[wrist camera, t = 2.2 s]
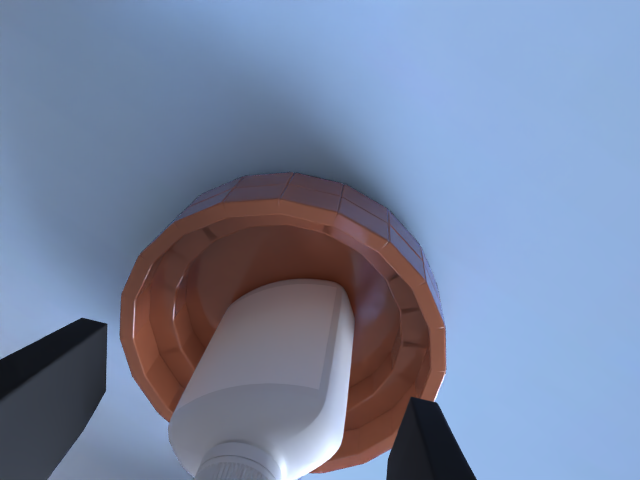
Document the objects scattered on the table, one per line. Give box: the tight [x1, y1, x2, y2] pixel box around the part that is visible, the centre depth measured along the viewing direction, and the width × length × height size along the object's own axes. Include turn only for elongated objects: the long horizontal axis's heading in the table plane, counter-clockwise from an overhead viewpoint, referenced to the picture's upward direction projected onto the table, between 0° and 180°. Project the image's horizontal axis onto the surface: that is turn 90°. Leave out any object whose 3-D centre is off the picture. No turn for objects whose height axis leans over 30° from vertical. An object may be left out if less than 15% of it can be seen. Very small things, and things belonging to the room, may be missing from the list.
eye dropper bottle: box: [168, 279, 355, 480], centre depth 17 cm, size 4×6×12 cm
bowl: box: [120, 172, 446, 473], centre depth 21 cm, size 13×13×4 cm
